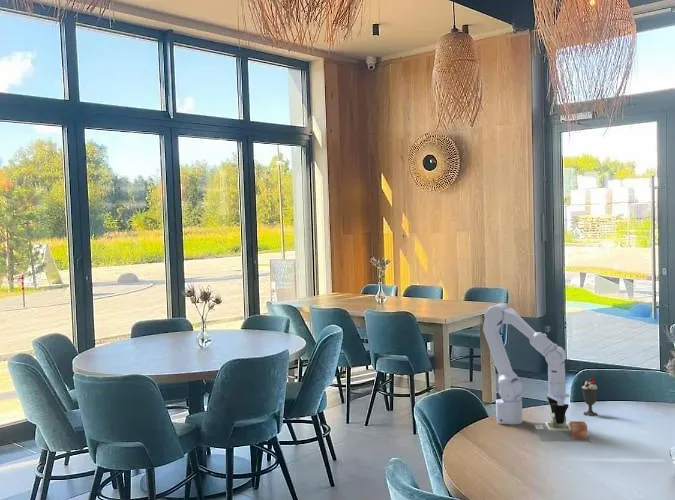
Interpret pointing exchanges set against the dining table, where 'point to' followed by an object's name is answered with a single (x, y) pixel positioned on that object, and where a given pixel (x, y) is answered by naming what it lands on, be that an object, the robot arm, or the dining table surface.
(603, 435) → the dining table surface
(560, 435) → the grey board
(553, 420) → the sage block
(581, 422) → the terracotta block
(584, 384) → the sundae
